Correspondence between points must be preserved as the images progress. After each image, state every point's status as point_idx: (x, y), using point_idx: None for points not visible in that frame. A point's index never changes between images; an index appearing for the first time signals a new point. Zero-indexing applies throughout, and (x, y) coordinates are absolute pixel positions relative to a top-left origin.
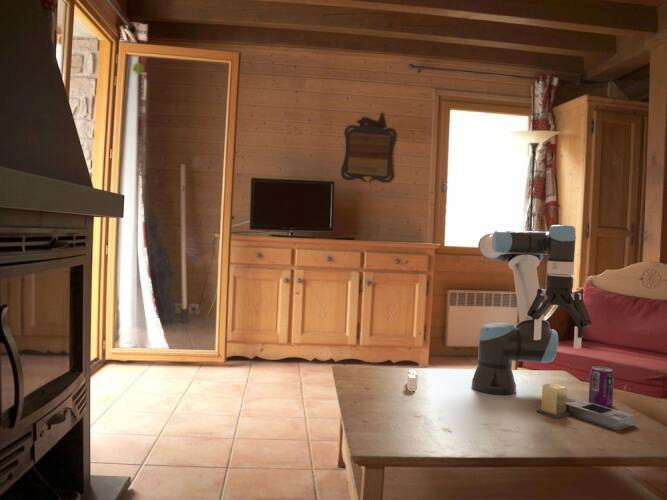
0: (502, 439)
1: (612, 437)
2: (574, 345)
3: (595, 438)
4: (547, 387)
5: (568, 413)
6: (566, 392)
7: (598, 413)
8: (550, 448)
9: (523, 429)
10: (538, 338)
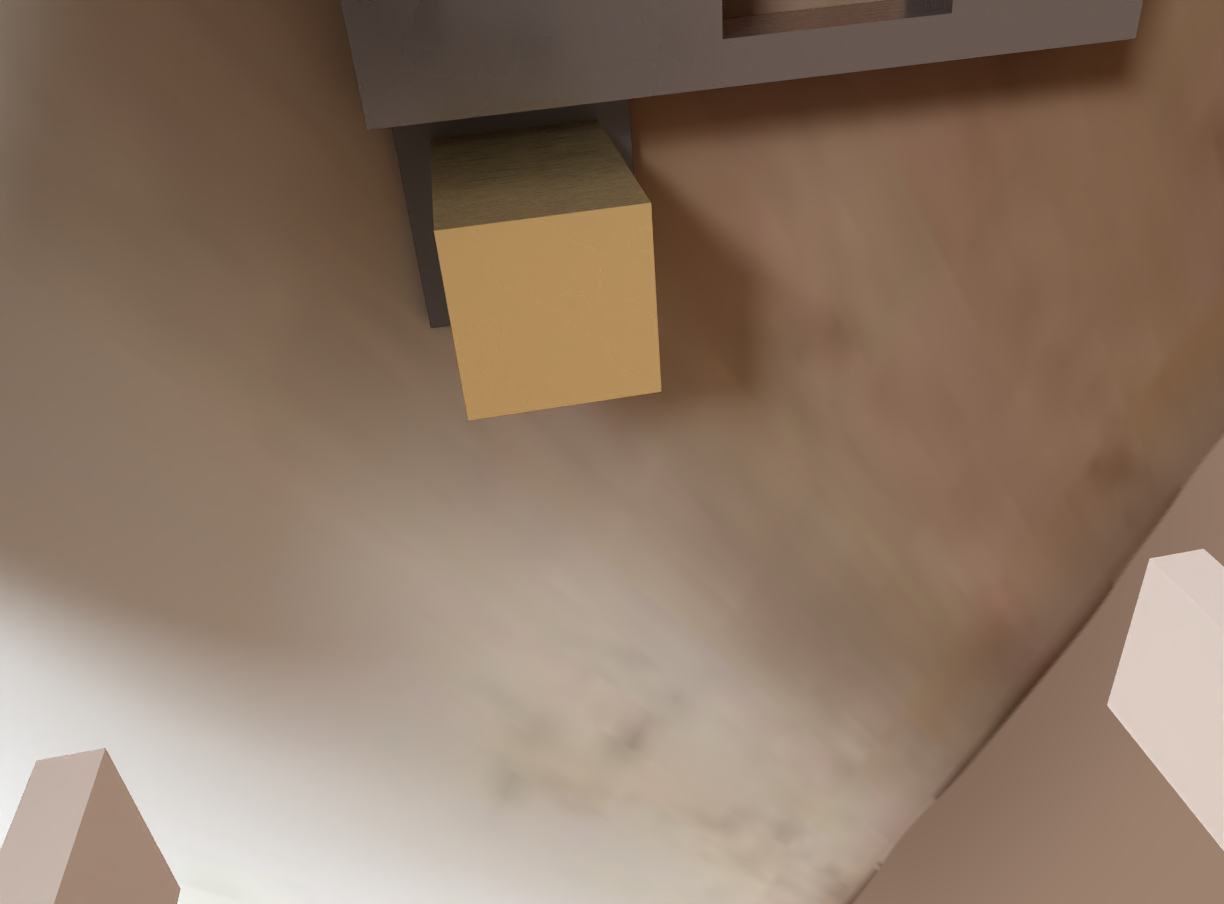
0: (724, 813)
1: (1094, 219)
2: (1162, 750)
3: (1021, 355)
4: (532, 403)
5: (621, 106)
6: (637, 184)
7: (936, 43)
8: (928, 690)
9: (676, 651)
10: (132, 847)
